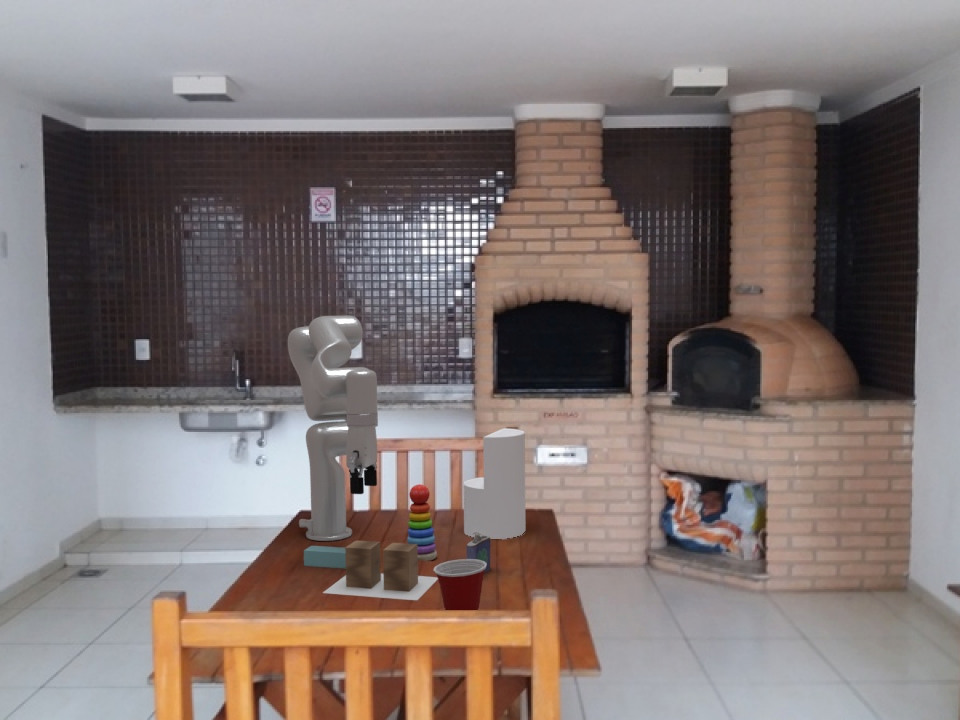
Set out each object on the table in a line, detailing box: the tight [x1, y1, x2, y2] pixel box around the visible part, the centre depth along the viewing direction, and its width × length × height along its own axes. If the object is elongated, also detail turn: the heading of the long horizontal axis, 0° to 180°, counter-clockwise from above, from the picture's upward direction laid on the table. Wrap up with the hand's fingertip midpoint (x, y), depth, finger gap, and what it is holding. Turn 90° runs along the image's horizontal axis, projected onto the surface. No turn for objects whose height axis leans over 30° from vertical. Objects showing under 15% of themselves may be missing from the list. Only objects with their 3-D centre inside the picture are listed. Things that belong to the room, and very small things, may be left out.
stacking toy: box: [407, 483, 438, 562], centre depth 225 cm, size 8×8×19 cm
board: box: [322, 572, 438, 601], centre depth 202 cm, size 22×16×1 cm
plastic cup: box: [433, 558, 487, 611], centre depth 180 cm, size 11×11×12 cm
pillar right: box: [382, 542, 419, 592], centre depth 200 cm, size 6×6×9 cm
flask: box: [466, 532, 491, 574], centre depth 209 cm, size 9×3×11 cm, turn 151°
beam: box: [303, 545, 346, 570], centre depth 217 cm, size 16×4×5 cm, turn 76°
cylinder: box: [463, 427, 527, 540], centre depth 249 cm, size 17×17×28 cm
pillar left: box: [344, 539, 382, 589], centre depth 202 cm, size 6×6×9 cm
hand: (364, 489), depth 219 cm, fingers open, 9 cm apart
